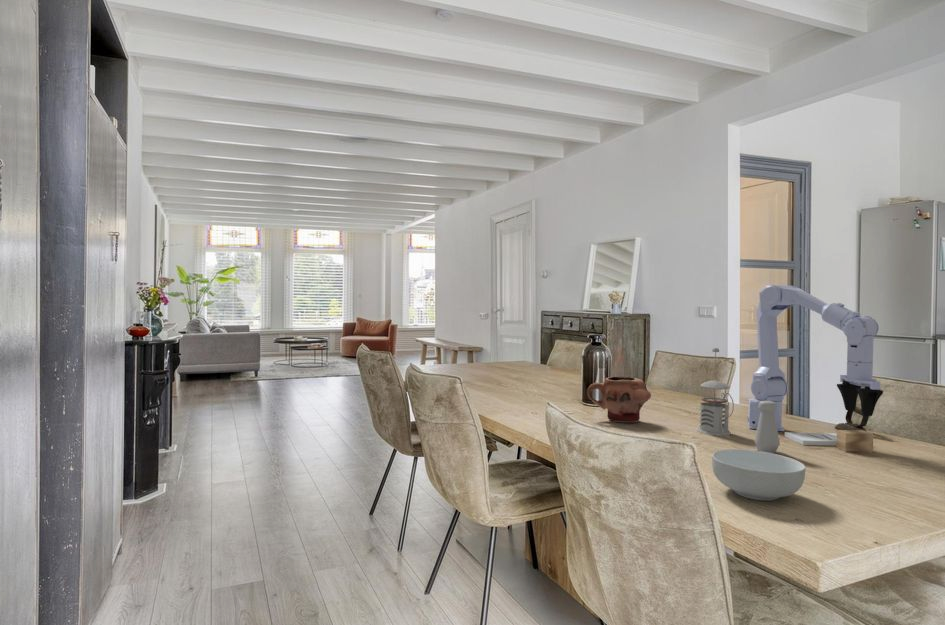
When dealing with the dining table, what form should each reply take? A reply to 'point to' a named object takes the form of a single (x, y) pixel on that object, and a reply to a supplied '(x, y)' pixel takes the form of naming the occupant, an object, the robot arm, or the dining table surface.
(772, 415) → the salt shaker
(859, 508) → the dining table surface
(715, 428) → the french press
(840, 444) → the block
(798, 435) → the board
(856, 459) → the dining table surface
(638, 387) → the brown clay mug
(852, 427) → the clothes iron
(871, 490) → the dining table surface
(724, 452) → the cereal bowl
